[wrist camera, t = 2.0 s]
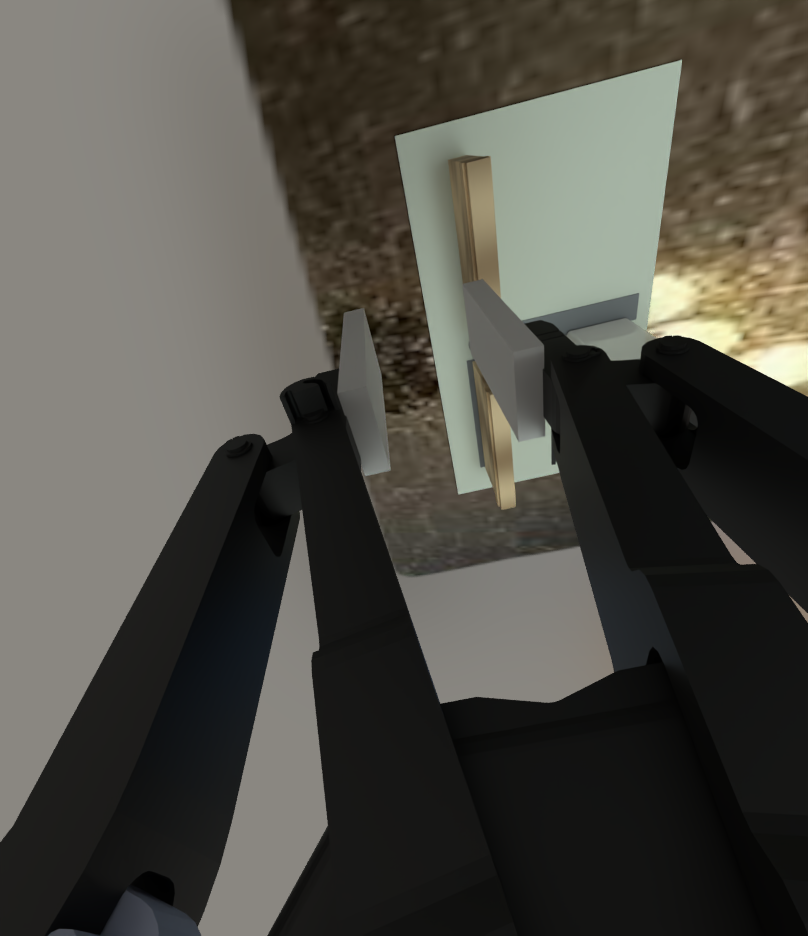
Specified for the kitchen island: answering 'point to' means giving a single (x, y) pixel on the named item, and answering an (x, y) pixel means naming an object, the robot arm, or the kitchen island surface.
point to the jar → (617, 341)
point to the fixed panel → (495, 443)
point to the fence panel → (475, 219)
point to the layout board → (543, 228)
